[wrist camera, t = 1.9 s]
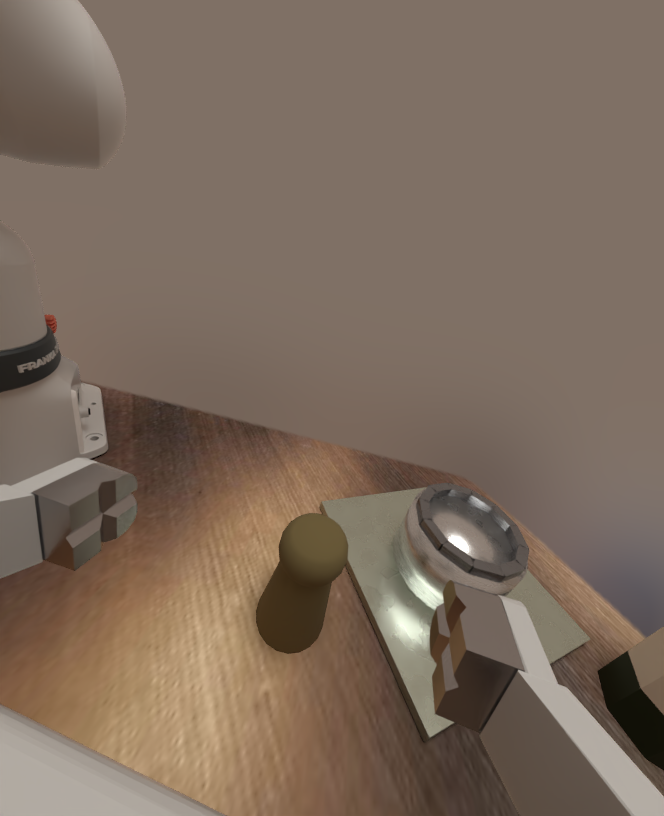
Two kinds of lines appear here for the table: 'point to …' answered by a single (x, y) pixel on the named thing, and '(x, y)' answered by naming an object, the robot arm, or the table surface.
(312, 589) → the cork
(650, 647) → the wine bottle
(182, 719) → the table surface
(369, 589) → the duct stub
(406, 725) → the table surface
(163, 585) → the table surface
